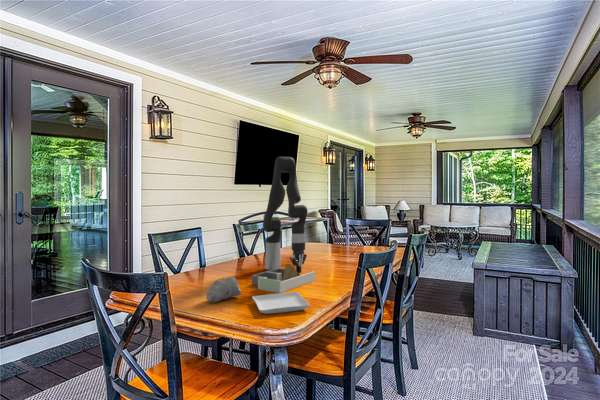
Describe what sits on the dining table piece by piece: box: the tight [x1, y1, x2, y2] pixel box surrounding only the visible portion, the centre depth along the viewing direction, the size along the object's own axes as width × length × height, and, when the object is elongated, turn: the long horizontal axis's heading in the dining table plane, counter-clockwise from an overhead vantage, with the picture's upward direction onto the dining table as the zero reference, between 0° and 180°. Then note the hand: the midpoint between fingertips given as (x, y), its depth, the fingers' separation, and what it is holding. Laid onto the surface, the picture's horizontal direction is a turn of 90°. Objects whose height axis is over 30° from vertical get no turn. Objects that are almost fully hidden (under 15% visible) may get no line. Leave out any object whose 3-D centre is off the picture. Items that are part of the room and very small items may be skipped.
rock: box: [283, 264, 301, 281], centre depth 204 cm, size 11×9×10 cm
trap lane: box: [251, 267, 316, 294], centre depth 204 cm, size 23×31×6 cm
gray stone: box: [205, 276, 242, 304], centre depth 174 cm, size 16×15×10 cm
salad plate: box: [252, 291, 310, 315], centre depth 162 cm, size 21×21×3 cm
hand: (298, 272), depth 209 cm, fingers closed
